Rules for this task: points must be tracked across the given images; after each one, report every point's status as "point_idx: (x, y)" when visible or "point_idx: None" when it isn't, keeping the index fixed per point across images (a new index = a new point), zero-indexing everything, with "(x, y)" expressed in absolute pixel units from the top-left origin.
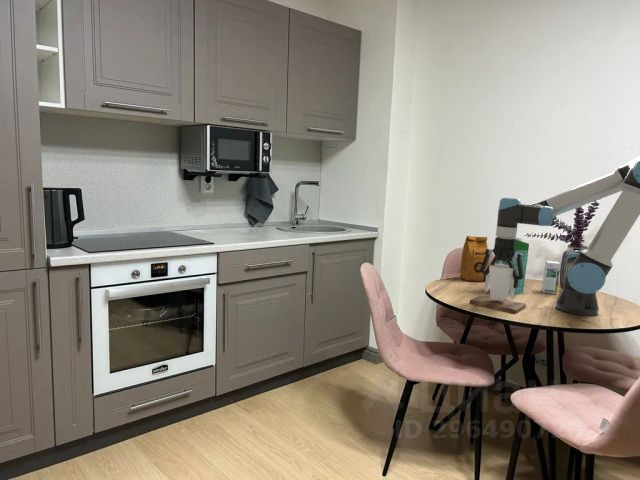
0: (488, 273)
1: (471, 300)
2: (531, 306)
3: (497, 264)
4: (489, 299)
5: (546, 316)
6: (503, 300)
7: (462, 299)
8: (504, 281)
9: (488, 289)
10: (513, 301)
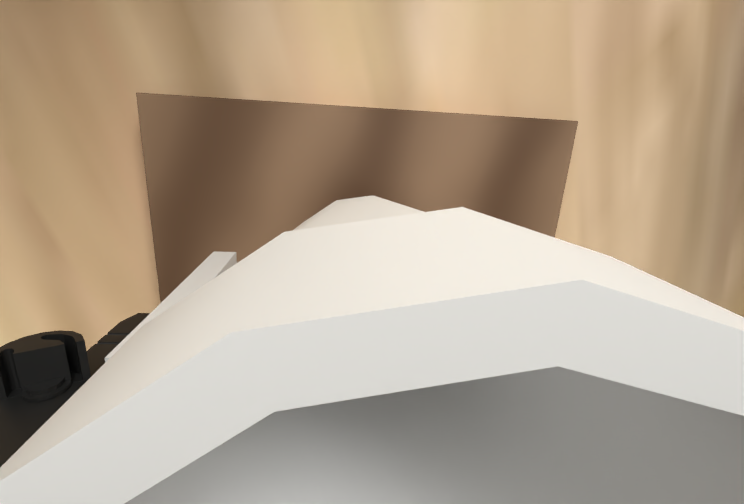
0: (88, 366)
1: None
2: (603, 25)
3: (104, 500)
4: (277, 234)
5: (697, 263)
6: (385, 160)
7: (73, 286)
8: (475, 497)
9: (234, 262)
10: (469, 122)
